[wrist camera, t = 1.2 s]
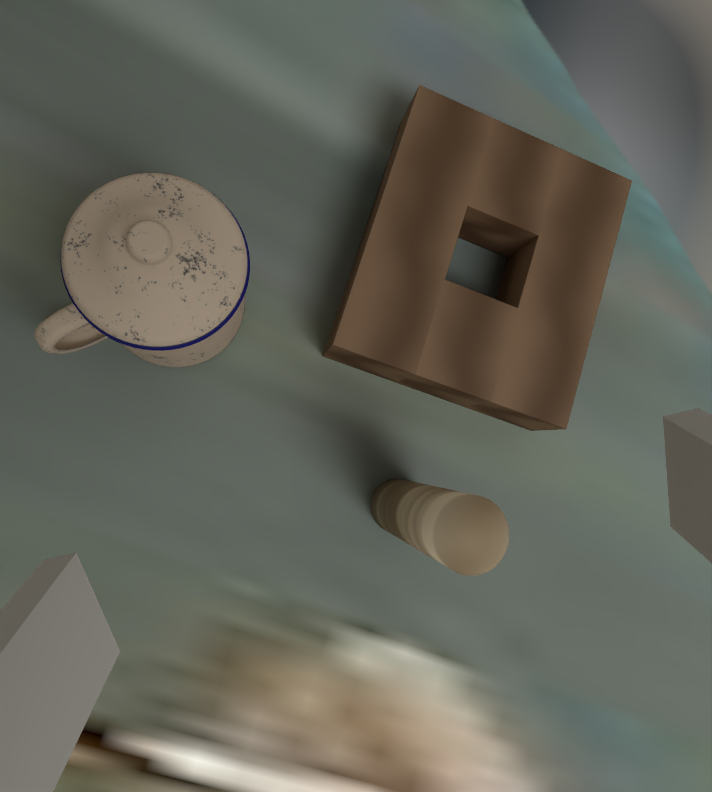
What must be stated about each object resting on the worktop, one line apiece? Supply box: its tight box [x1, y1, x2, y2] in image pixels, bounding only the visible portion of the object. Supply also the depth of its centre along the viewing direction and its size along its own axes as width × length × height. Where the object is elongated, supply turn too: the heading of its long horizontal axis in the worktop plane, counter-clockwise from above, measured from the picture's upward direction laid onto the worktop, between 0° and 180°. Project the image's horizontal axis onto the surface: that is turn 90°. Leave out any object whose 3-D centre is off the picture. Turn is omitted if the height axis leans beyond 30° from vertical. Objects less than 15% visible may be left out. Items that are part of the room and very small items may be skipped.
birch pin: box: [371, 479, 509, 576], centre depth 32 cm, size 4×4×13 cm
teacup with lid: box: [34, 173, 250, 367], centre depth 31 cm, size 12×9×12 cm
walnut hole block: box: [323, 85, 632, 431], centre depth 39 cm, size 16×18×4 cm
